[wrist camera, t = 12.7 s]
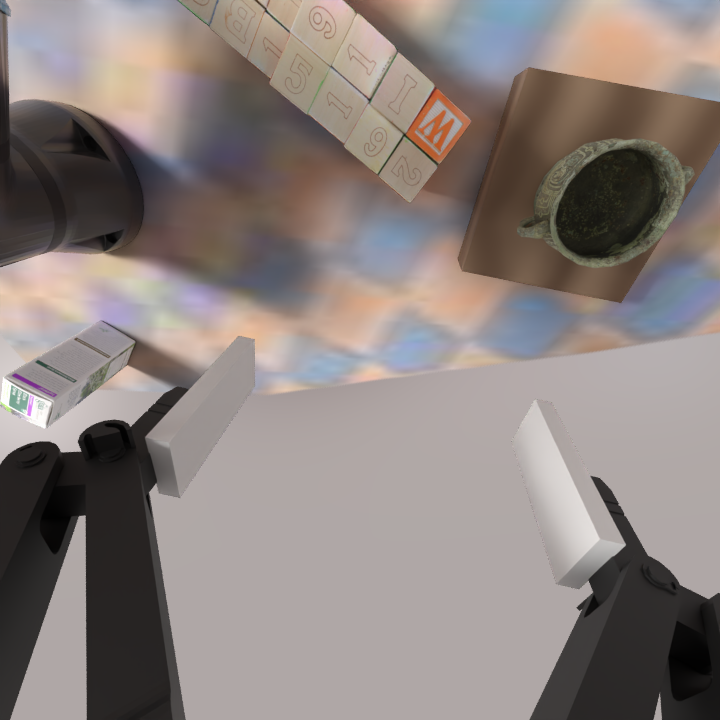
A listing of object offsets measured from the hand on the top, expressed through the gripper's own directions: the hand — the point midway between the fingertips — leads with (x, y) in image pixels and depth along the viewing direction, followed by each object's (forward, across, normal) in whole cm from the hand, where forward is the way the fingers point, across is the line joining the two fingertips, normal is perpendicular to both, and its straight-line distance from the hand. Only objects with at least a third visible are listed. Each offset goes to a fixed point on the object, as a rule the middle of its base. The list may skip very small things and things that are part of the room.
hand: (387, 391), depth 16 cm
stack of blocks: (+27, -9, +14) cm, 32 cm away
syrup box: (+27, -39, -22) cm, 52 cm away
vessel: (+23, +14, +8) cm, 28 cm away
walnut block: (+27, +14, +8) cm, 32 cm away
